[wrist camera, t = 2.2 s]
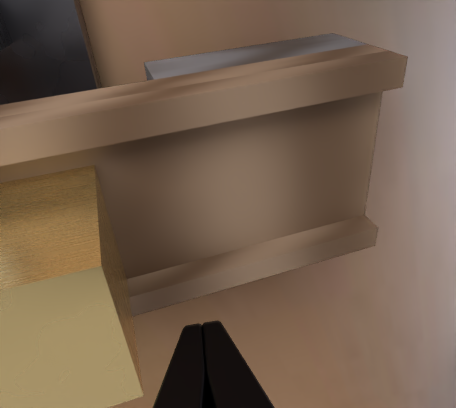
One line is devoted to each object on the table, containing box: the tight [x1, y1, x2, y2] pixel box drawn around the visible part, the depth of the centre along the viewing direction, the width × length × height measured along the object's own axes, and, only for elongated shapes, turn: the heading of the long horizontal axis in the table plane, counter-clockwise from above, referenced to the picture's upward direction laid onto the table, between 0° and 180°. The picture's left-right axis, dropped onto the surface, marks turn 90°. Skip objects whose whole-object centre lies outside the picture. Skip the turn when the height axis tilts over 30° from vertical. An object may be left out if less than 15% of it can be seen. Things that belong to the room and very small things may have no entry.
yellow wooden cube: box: [0, 165, 144, 408], centre depth 11 cm, size 5×5×5 cm
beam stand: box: [0, 0, 101, 105], centre depth 16 cm, size 8×14×8 cm, turn 4°
